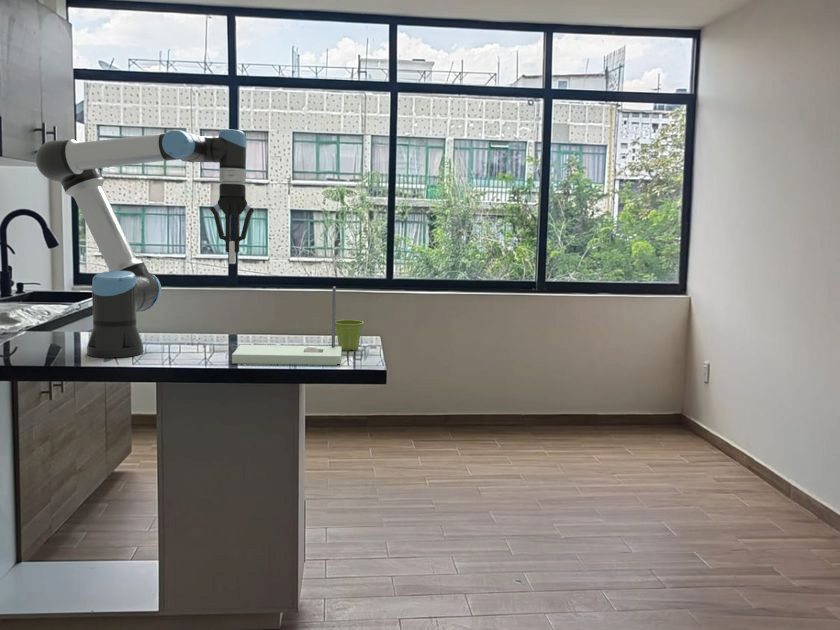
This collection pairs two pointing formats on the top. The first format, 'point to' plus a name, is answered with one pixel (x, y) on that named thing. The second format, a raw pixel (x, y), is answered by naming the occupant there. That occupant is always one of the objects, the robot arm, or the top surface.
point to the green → (291, 351)
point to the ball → (311, 349)
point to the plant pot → (348, 333)
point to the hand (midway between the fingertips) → (232, 263)
